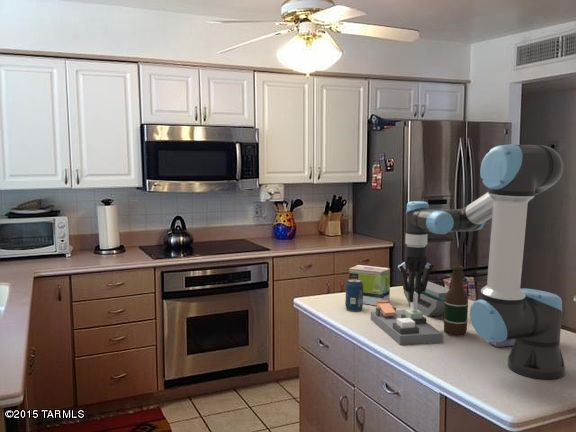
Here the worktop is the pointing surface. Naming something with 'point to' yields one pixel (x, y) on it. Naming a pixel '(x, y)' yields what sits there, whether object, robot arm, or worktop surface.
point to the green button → (413, 314)
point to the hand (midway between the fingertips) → (413, 310)
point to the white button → (405, 323)
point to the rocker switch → (386, 308)
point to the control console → (406, 335)
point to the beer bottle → (456, 305)
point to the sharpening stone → (431, 299)
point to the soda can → (354, 295)
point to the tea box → (372, 282)
